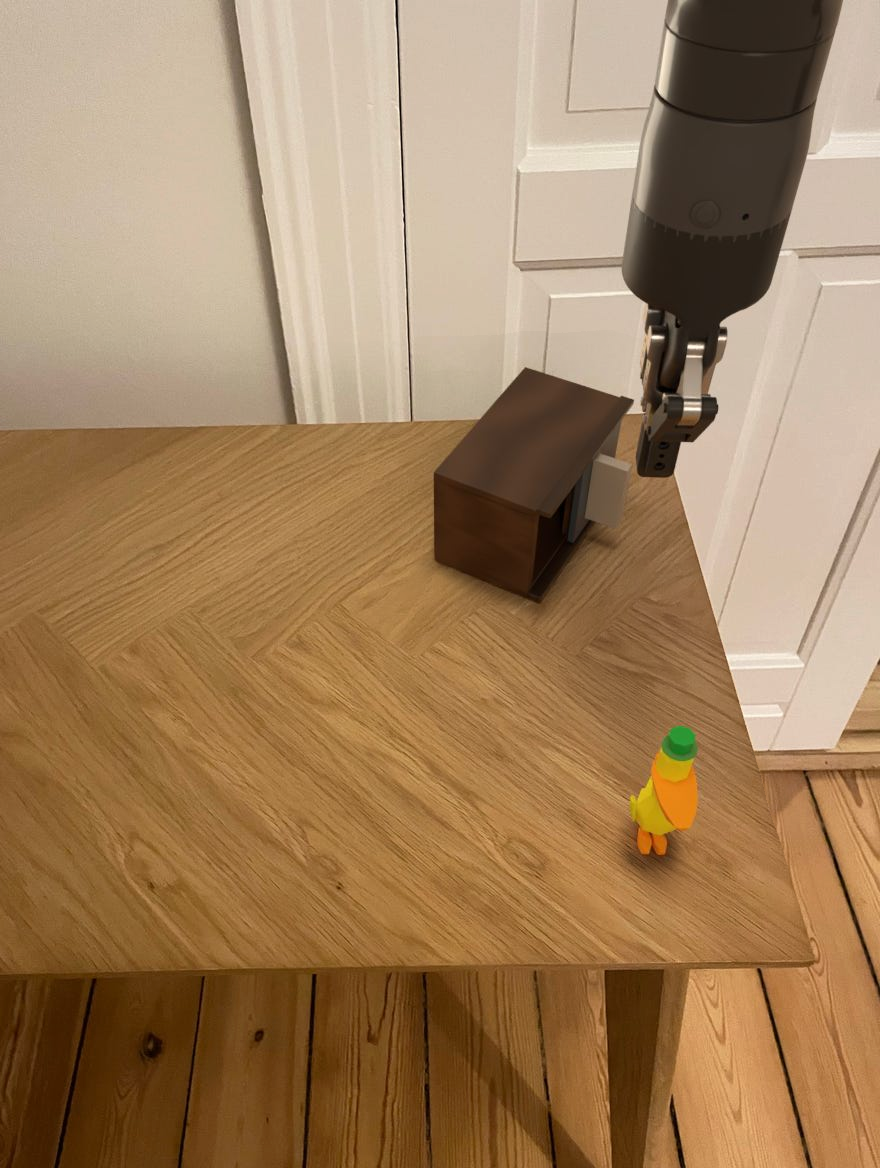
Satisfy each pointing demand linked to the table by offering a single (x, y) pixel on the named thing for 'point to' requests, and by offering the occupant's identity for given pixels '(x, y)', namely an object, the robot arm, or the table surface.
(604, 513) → the door
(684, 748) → the toy figure
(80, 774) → the table surface
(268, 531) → the table surface
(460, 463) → the cupboard
